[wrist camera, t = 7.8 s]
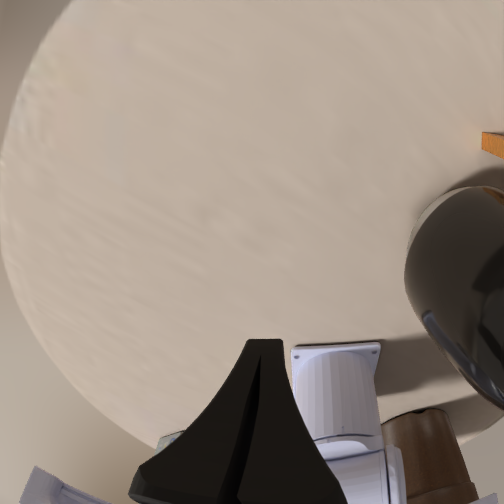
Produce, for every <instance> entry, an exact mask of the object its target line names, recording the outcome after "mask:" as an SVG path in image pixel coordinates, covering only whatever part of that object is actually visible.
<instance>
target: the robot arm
mask: <svg viewBox="0 0 504 504" xmlns="http://www.w3.org/2000/svg"><path fill="white" fill-rule="evenodd" d="M375 350H376V351H375ZM380 350H381V345H380V343H379V342H370V343H357V344H343V345H326V346H303V347H294V348H292V349H291V361H292V378H293V393H292V390H291V387H290V383H289V379H288V376H287V372H286V368H285V359H284V347H283V340H281V339H249V340H247V341H246V344H245V346H244V348H243V350H242V353H241V355H240V356H239V358H238V360H237V362H236V364H235V366H234V368H233V369H232V371H231V372H230V374H229V376H228V377H227V379H226V381H225V382H224V384H223V385H222V387H221V388H220V390H219V391H218V392H217V394H216V395H215V397H214V398H213V399H212V401H211V402H210V403H209V405H208V406H207V407H206V408H205V409H204V411H203V412H202V413H201V414H200V415H199V416H198V418H197V419H196V420H195V421H194V422H193V423H192V424H191V425H190V426H189V427H188V428H187V429H186V430H185V431H184V432H183V433H182V434H181V435H180V436H178V437H177V438H176V439H175V440H174V441H173V442H171V443H170V444H169V445H168V446H167V447H165V448H164V449H163V450H162V451H160V452H159V453H158V454H156V455H155V456H153V457H152V458H150V459H149V460H148V461H146V462H145V463H143V464H142V465H140V466H139V468H138V470H137V472H136V474H135V476H134V478H133V481H132V484H131V487H130V490H129V493H128V495H129V497H130V498H131V499H133V500H134V501H136V502H138V503H140V504H407V502H406V486H405V476H404V467H403V460H402V454H401V450H400V449H399V448H397V447H395V446H394V444H390V445H386V448H387V460H386V452H385V446H384V441H383V436H382V431H381V423H380V416H379V409H378V403H377V397H376V390H375V384H374V379H373V378H374V374H375V370H376V366H377V362H378V358H379V354H380ZM295 355H299V356H295ZM387 467H388V470H387ZM19 504H112V503H109V502H107V501H104V500H102V499H99V498H96V497H94V496H92V495H90V494H87V493H85V492H83V491H81V490H78V489H76V488H74V487H72V486H70V485H68V484H66V483H64V482H63V481H62V480H60V479H59V478H57V477H55V476H54V475H52V474H50V473H48V472H46V471H45V470H43V469H41V468H39V467H38V466H34V468H33V471H32V473H31V475H30V477H29V480H28V482H27V484H26V487H25V489H24V491H23V494H22V496H21V498H20V501H19ZM469 504H498V499H497V494H496V493H493V494H491V495H488V496H486V497H484V498H481V499H479V500H476V501H474V502H471V503H469Z"/></svg>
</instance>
